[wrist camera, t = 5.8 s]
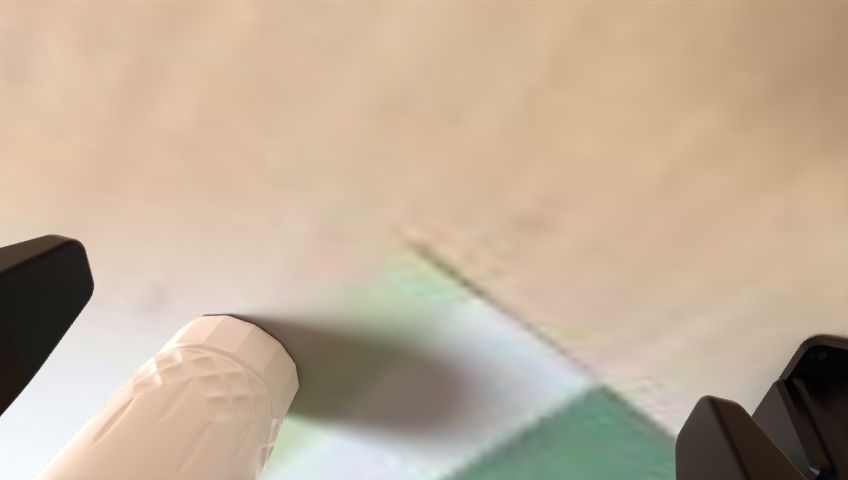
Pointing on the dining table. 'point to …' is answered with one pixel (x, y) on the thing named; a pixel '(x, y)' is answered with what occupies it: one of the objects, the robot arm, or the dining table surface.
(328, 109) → the dining table surface
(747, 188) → the dining table surface
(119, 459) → the white cup
